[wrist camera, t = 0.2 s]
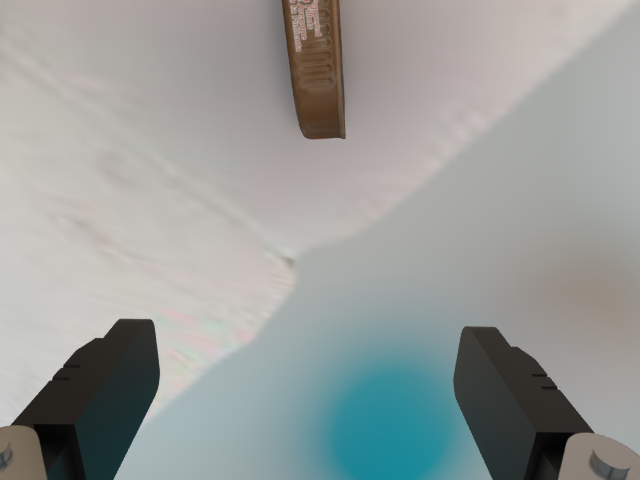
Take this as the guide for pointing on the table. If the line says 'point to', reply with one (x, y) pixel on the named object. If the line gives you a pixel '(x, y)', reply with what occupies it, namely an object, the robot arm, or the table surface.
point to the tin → (316, 66)
